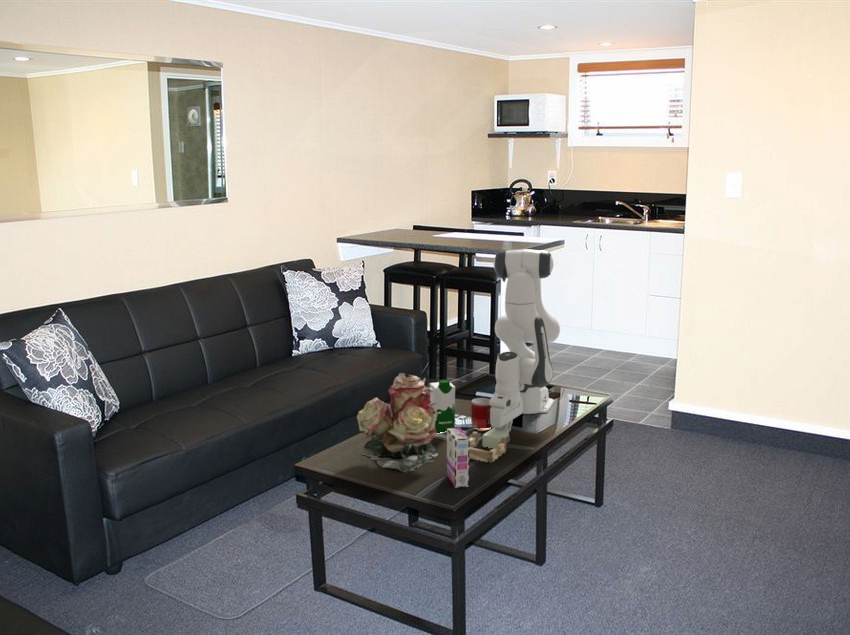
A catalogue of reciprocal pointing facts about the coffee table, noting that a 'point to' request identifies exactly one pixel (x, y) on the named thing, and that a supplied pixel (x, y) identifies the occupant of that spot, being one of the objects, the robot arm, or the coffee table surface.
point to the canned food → (480, 413)
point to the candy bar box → (458, 457)
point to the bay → (483, 454)
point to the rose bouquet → (400, 424)
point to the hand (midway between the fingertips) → (506, 432)
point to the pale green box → (495, 437)
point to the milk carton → (443, 404)
